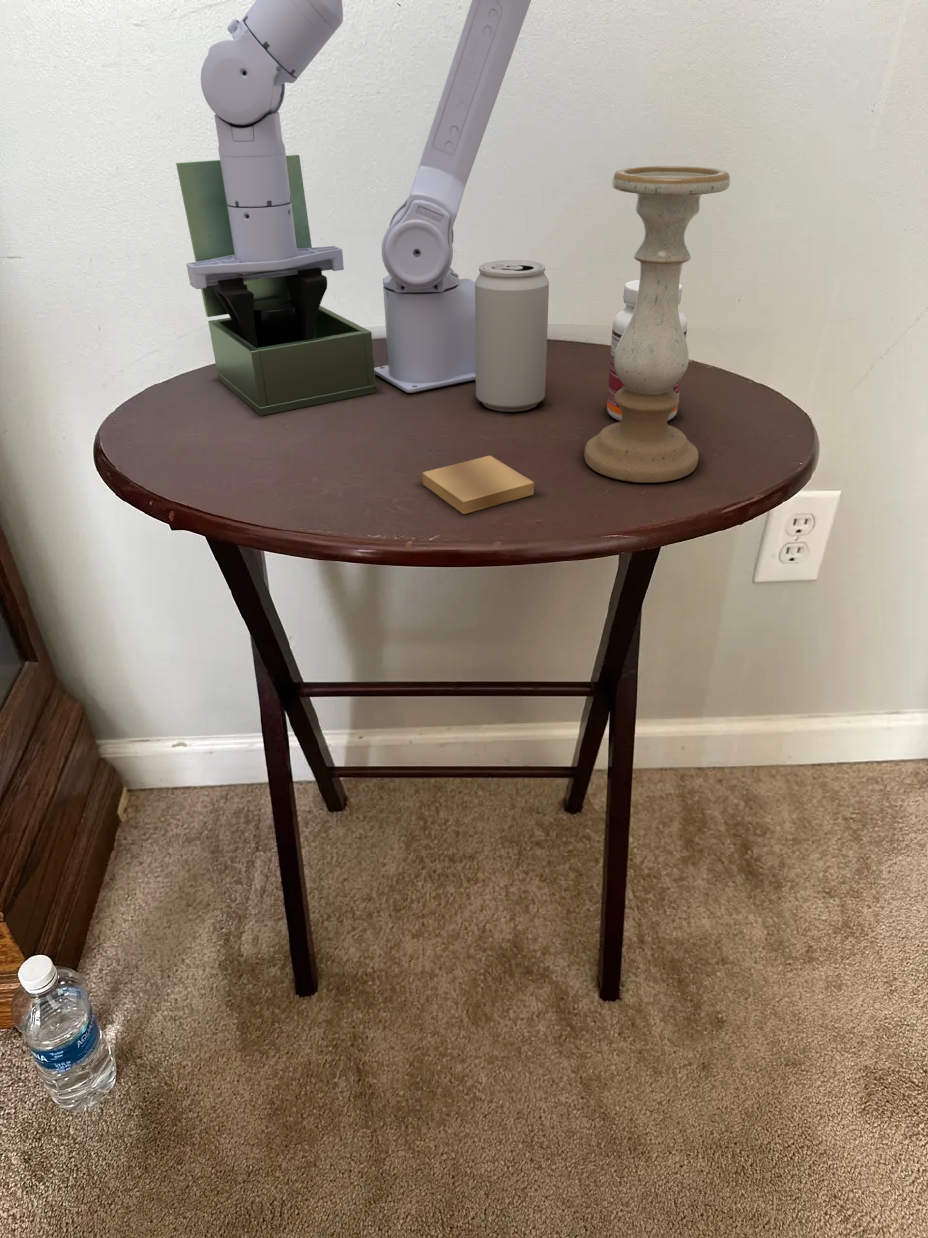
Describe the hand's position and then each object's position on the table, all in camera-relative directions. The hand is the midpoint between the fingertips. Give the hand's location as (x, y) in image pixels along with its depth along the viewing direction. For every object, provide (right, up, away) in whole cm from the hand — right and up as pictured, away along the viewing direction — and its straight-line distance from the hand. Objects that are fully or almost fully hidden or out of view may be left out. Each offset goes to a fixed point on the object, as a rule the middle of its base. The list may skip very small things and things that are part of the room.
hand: (279, 355), depth 84 cm
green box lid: (-2, +10, -3) cm, 11 cm away
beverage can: (+23, -6, -5) cm, 24 cm away
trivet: (+19, -17, -21) cm, 33 cm away
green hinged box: (+2, -3, 0) cm, 4 cm away
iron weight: (0, -1, +1) cm, 2 cm away
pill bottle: (+34, -8, -8) cm, 36 cm away
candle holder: (+32, -14, -17) cm, 39 cm away
